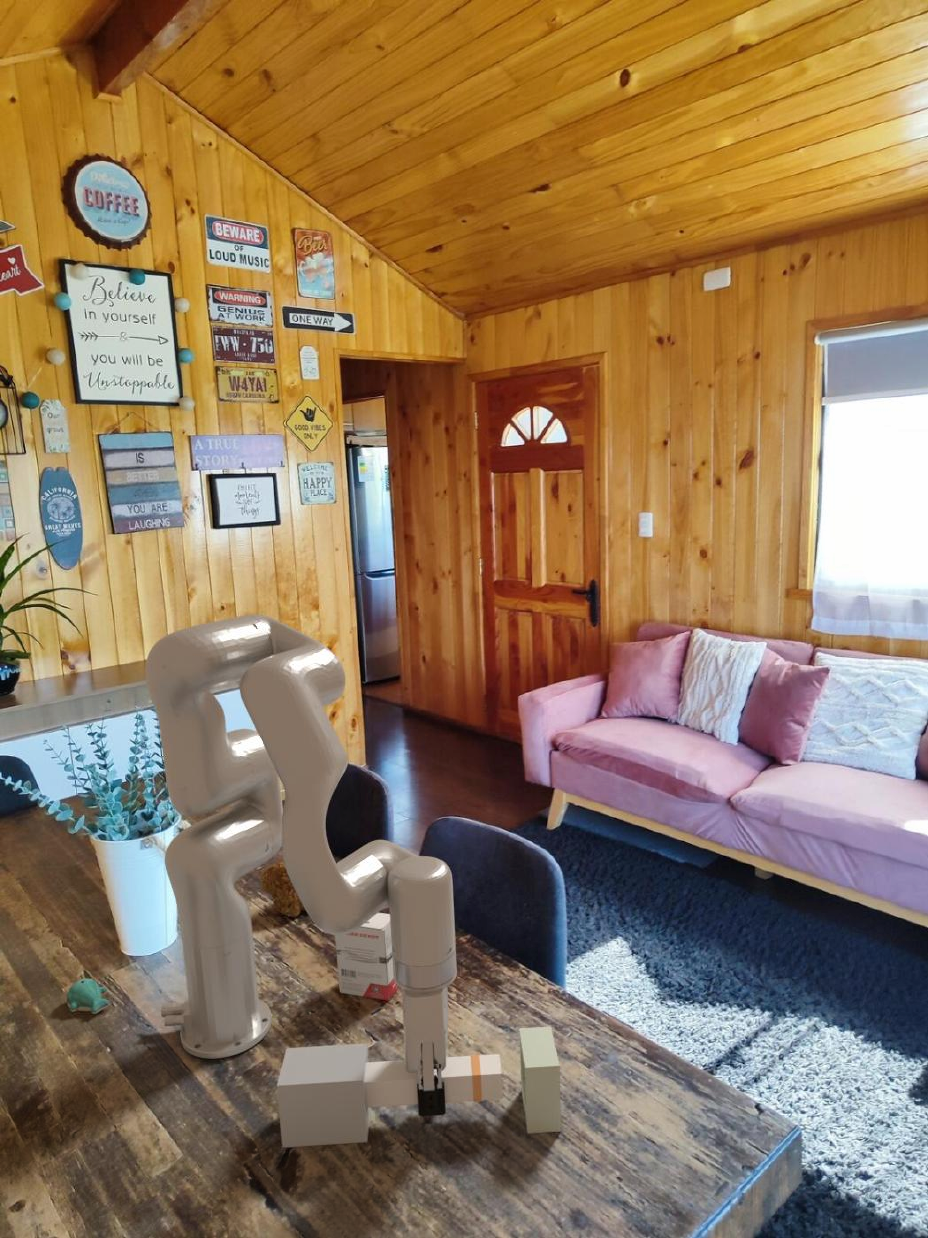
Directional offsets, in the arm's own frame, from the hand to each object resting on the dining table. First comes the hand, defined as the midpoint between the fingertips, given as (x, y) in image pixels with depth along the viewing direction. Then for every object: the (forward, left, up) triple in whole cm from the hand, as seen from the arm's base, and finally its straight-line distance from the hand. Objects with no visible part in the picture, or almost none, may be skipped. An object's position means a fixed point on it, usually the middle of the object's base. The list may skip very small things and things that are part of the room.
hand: (432, 1099), depth 100 cm
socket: (+13, 0, -2) cm, 13 cm away
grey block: (-13, 0, -2) cm, 13 cm away
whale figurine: (-53, +27, -3) cm, 59 cm away
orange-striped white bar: (-3, 0, +1) cm, 4 cm away
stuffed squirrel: (-24, +54, -3) cm, 59 cm away
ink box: (-10, +27, -3) cm, 29 cm away
